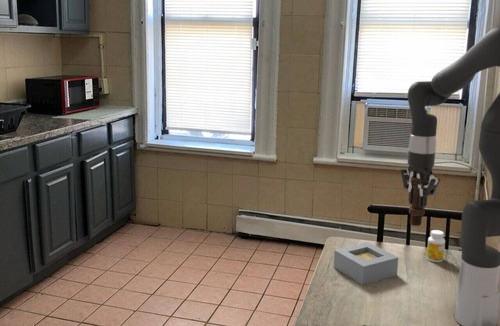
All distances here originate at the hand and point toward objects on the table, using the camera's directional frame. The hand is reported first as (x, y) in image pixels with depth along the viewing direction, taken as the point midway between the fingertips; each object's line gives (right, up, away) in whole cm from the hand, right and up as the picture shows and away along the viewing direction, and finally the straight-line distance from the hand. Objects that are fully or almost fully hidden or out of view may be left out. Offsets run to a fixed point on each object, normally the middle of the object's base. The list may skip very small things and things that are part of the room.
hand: (417, 205), depth 159 cm
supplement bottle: (+12, -20, +19) cm, 30 cm away
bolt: (0, -6, +2) cm, 6 cm away
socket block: (-14, -22, +9) cm, 27 cm away
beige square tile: (-14, -19, +8) cm, 25 cm away
